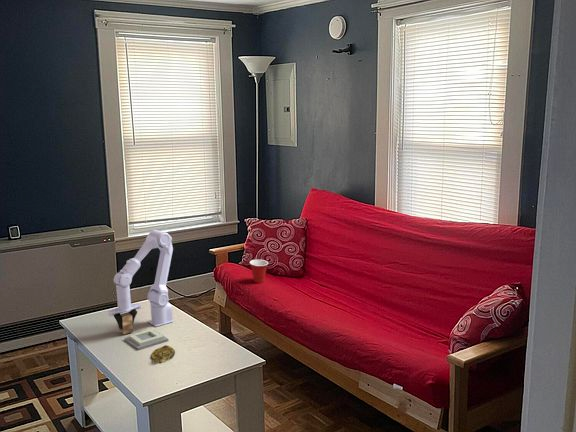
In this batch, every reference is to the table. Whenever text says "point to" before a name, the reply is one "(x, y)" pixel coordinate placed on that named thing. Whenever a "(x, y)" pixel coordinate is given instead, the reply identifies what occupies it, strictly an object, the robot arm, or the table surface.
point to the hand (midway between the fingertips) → (126, 327)
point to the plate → (145, 339)
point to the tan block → (126, 323)
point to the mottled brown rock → (163, 354)
